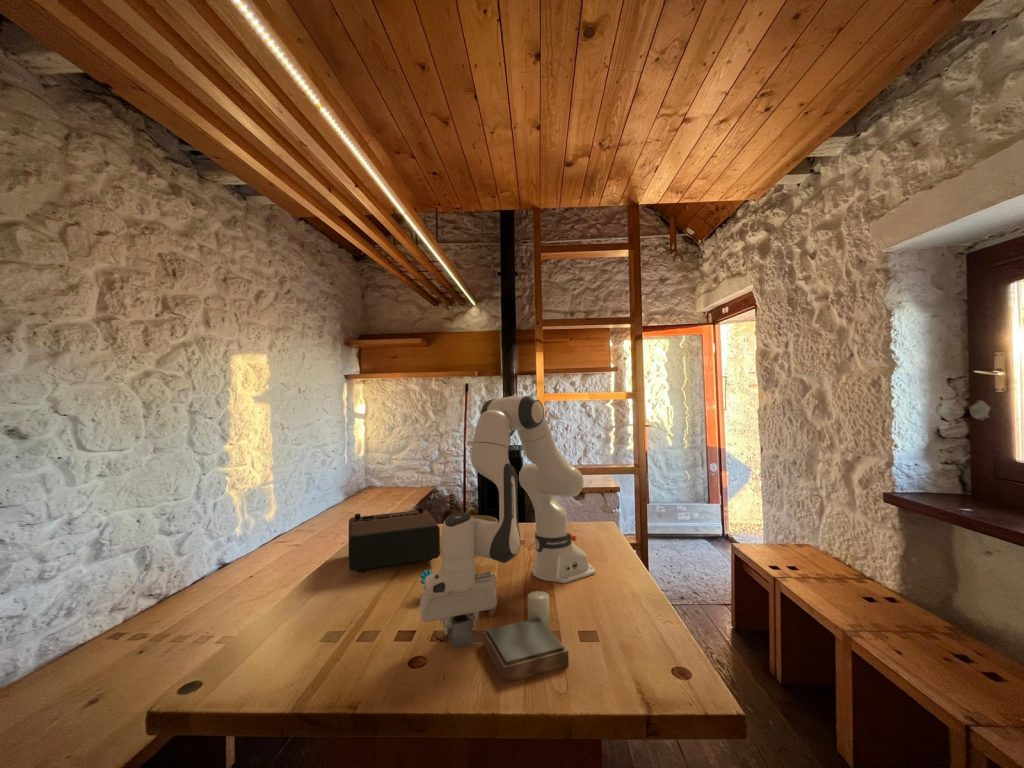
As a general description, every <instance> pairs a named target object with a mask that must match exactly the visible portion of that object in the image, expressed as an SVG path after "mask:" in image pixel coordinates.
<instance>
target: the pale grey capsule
mask: <svg viewBox="0 0 1024 768" xmlns="http://www.w3.org/2000/svg"><path fill="white" fill-rule="evenodd" d="M550 616H551V615H550V594H549V593H548V592H545V591H541V590H536V591H531V592H530V593H528V594H527V621H529V620H533V619H537V618H539V619H541V620H542V621H543V623H544V624H545V625H546V626H547V627H548V628H549V629H550V625H551V624H550V623H551V622H550V619H551V618H550Z"/></svg>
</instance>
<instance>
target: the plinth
mask: <svg viewBox="0 0 1024 768" xmlns="http://www.w3.org/2000/svg"><path fill="white" fill-rule="evenodd" d="M482 632H483V633H482V634H483V636H482V637H483V638H482V639H483V647H484V649H485V650H486V651H487V654H488V656H489V658H490V659H491V661H492V663H493V664H494V667H495V668H496V670H497V672H498V674H499V676H500V677H501V679H502V681H503V683H504V684H507V683H511V682H513V681H518V680H521V679H522V680H523V679H526V678H529V677H533V676H537V675H540V674H544V673H546V672H552V671H553V670H557V669H561V668H565V667H569V666H570V665H569V663H570V662H569V659H570V657H569V649H568V648H566V647H565V645H564V644H563V643H562V642H561V641H560V639H559V638H558V637H557V636H556V635H555V634H554V633H553V632H552V630H551V629H550V627H549V628H548V627H547V626H546V625H545V624H544V623H543V621H542V620H541V619H539V618H537V619H533V620H529V621H528V620H525V621H520V622H516V623H511V624H508V625H507V624H506V625H503V626H498V627H494V628H489V629H486V630H483V631H482Z"/></svg>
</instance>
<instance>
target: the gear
mask: <svg viewBox="0 0 1024 768" xmlns="http://www.w3.org/2000/svg"><path fill="white" fill-rule="evenodd" d="M434 573H435V572H434ZM431 574H433V572H432V570H431V569H428V570H423V571H422V574H420V578H421V579H420V584H423V585H424V586H423V590H424V589H425V583H424V580H425V578H426V577H427V576H429V575H431Z"/></svg>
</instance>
